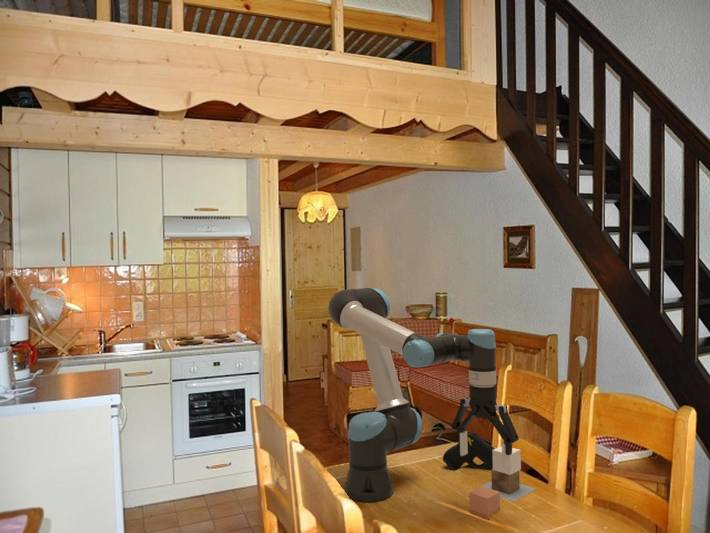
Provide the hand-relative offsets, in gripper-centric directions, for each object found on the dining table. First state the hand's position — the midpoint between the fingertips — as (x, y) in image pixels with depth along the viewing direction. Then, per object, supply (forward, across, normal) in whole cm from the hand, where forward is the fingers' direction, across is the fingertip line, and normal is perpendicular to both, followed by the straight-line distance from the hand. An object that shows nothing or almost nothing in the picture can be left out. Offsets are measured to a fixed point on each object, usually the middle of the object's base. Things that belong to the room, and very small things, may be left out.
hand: (484, 460), depth 155 cm
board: (+15, -3, +16) cm, 22 cm away
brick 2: (+14, -3, +16) cm, 21 cm away
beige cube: (+8, -2, +16) cm, 17 cm away
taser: (+15, -20, +25) cm, 35 cm away
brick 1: (+15, 0, 0) cm, 15 cm away
